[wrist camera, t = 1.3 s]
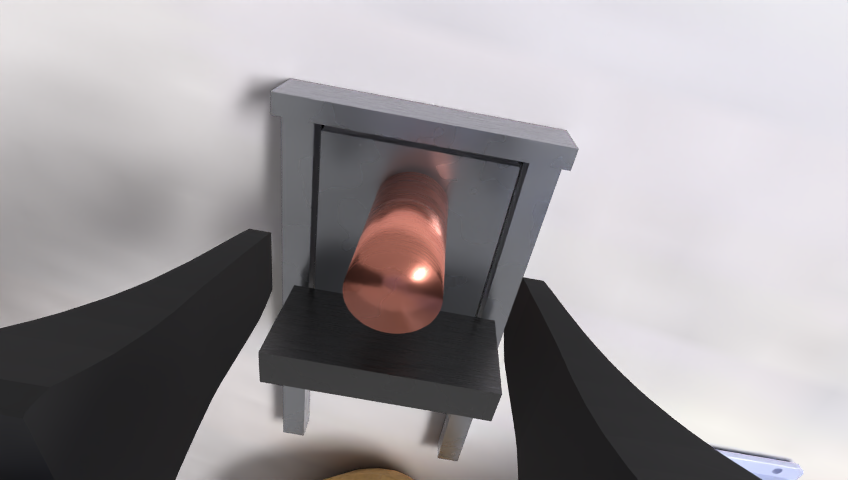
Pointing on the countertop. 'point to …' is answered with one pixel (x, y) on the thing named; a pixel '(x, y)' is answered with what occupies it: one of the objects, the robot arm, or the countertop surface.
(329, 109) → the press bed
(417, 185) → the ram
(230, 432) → the countertop surface
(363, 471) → the potato
